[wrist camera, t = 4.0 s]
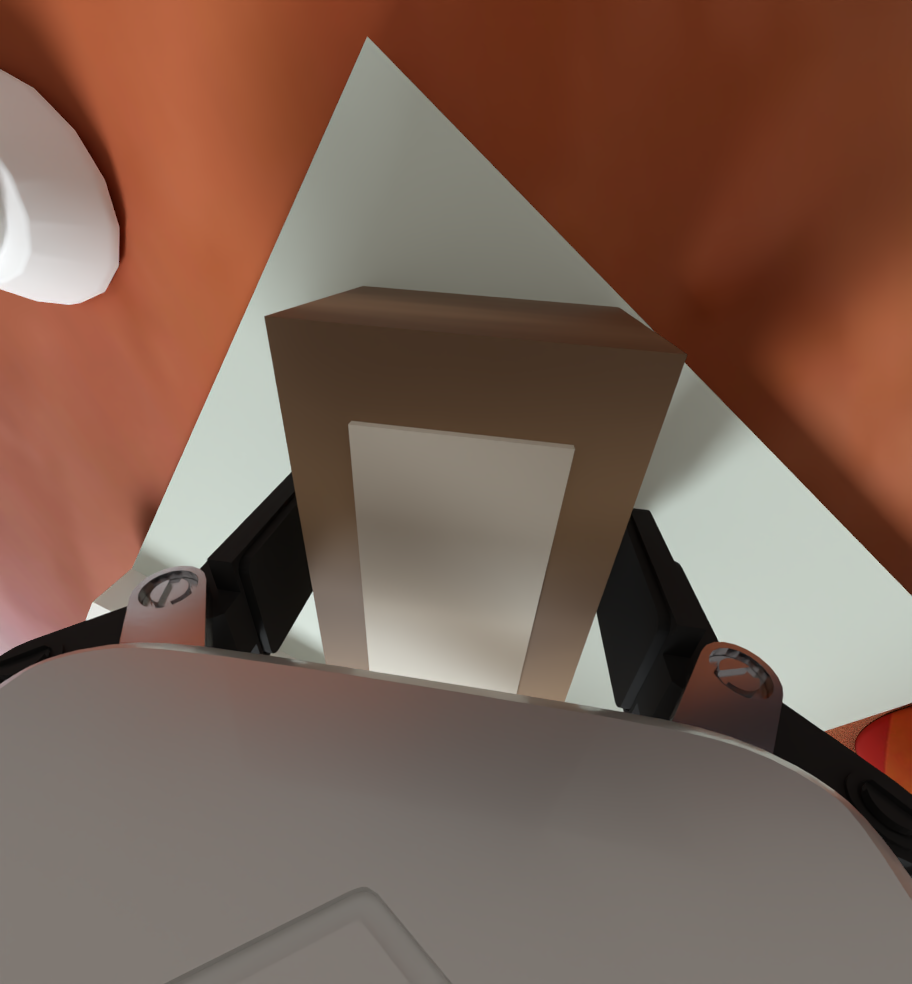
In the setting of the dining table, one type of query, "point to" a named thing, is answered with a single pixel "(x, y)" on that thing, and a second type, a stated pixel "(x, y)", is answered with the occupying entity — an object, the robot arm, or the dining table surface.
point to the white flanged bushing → (50, 204)
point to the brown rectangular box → (465, 474)
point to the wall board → (545, 277)
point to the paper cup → (889, 746)
